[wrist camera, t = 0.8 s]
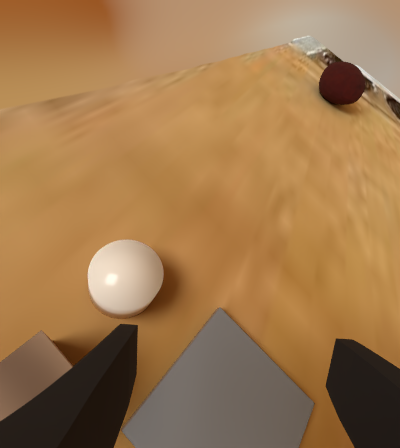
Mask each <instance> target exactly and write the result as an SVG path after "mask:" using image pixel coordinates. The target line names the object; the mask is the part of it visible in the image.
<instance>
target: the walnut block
mask: <svg viewBox="0 0 400 448" xmlns="http://www.w3.org/2000/svg"><path fill="white" fill-rule="evenodd" d="M72 367H73V365H72V364H71V363H70V361H69V360H68V359H67V358H66V357H65V355H64V354H63V353H62V352H61V351H60V349H59V348H58V347H57V346H56V345H55V344H54V342H53V341H52V340H51V339H50V338H49V337H48V336H47V335H46V334H45V333H44V332H43V331H42V330H41V331H40V332H38V333H37V334H36V335H35V336H33V337H32V338H31V339H29V340H28V341H27V342H26V343H24V344H23V345H22V346H20V347H19V348H18V349H17V350H15V351H14V352H13V353H11V354H10V355H9V356H8V357H6V358H5V359H4V360H2V361H1V362H0V421H1V420H3V419H4V418H6V417H7V416H9V415H10V414H12V413H13V412H15V411H16V410H17V409H19V408H20V407H22V406H23V405H25V404H26V403H27V402H29V401H30V400H32V399H33V398H34V397H36V396H37V395H38V394H40V393H41V392H42V391H44V390H45V389H46V388H47V387H49V386H50V385H51V384H52V383H54V382H55V381H56V380H57V379H59V378H60V377H61V376H62V375H64V374H65V373H66V372H67V371H68V370H70V369H71V368H72Z"/></svg>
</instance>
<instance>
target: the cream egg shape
mask: <svg viewBox="0 0 400 448" xmlns="http://www.w3.org/2000/svg"><path fill="white" fill-rule="evenodd" d="M163 276H164V272H163V265H162V262H161V260H160V258H159V256H158V255H157V254H156V252H155V251H154V250H153V249H151V248H150V247H149V246H147V245H146V244H144V243H141V242H139V241H135V240H119V241H115V242H112V243H109V244H107V245H106V246H104V247H103V248H101V249H100V250H99V251H98V252H97V253H96V254H95V256H94V257H93V259H92V260H91V263H90V265H89V269H88V286H89V295H90V299H91V301H92V303H93V305H94V306H95V307H96V308H97V309H98V310H99V311H100V312H101V313H103V314H104V315H106V316H109V317H111V318H117V319H124V318H130V317H133V316H135V315H137V314H139V313H141V312H142V311H144V310H145V309H146V308H147V307H148V306H149V304H150V303H151V301H152V300H153V299H154V297H155V296H156V294H157V293H158V292H159V290H160V288H161V285H162V282H163Z"/></svg>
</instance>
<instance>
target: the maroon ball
mask: <svg viewBox="0 0 400 448" xmlns="http://www.w3.org/2000/svg"><path fill="white" fill-rule="evenodd" d="M319 89H320V93H321V94H322V95H323V97H324V98H325V99H326V100H328V101H330V102H332V103H335V104H340V105H344V104H351V103H354V102H356V101H357V100H358V99H359V98H360V97H361V96H362V94H363V92H364V89H365V79H364V77H363V75H362V73H361V71H360V70H359V68H358V67H356V66H355V65H353V64H351V63H348V62H335V63H332V64H330V65H329V66H328V67H327V68H326V69H325V70H324V72H323V73H322V75H321V78H320V81H319Z"/></svg>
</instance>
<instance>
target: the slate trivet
mask: <svg viewBox="0 0 400 448" xmlns="http://www.w3.org/2000/svg"><path fill="white" fill-rule="evenodd" d="M314 404H315V403H314V402H313V401H312V400H311V399H310V398H309V397H308V396H307V395H306V394H305V393H304V392H303V391H302V390H301V389H300V388H299V387H298V386H297V385H296V384H295V383H294V382H293V381H292V380H291V379H290V378H289V377H288V376H287V375H286V374H285V373H284V372H283V371H282V370H281V369H280V368H279V367H278V366H277V365H276V364H275V363H274V362H273V361H272V360H271V359H270V358H269V356H268V355H267V354H266V353H265V352H264V351H263V350H262V349H261V348H260V347H259V346H258V345H257V344H256V343H255V342H254V341H253V340H252V339H251V338H250V337H249V336H248V335H247V334H246V333H245V332H244V331H243V330H242V329H241V328H240V327H239V326H238V325H237V324H236V323H235V322H234V321H233V320H232V319H231V318H230V317H229V316H228V315H227V314H226V313H225V312H224V311H223V310H222V309H221V308H220V307H219V308H218V309H216V311H215V312H214V313H213V314H212V316H211V317H210V318H209V319H208V321H207V322H206V323H205V325H204V326H203V327H202V328H201V330H200V331H199V332H198V333H197V335H196V336H195V337H194V338H193V340H192V341H191V342H190V343H189V345H188V346H187V347H186V348H185V350H184V351H183V352H182V353H181V355H180V356H179V357H178V358H177V360H176V361H175V362H174V363H173V365H172V366H171V367H170V368H169V370H168V371H167V372H166V374H165V375H164V376H163V377H162V379H161V380H160V381H159V382H158V384H157V385H156V386H155V387H154V389H153V390H152V391H151V392H150V394H149V395H148V396H147V397H146V399H145V400H144V401H143V402H142V404H141V405H140V406H139V407H138V409H137V410H136V411H135V412H134V414H133V415H132V416H131V417H130V419H129V420H128V421H127V423H126V424H125V425H124V426H123V428H122V429H121V430H122V432H123V433H124V434H125V435H126V437H127V438H128V439H129V440H130V441H131V443H132V444H133V445H134V446H135V447H136V448H299V445H300V443H301V440H302V437H303V434H304V431H305V429H306V426H307V423H308V420H309V418H310V415H311V412H312V409H313V407H314Z"/></svg>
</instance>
